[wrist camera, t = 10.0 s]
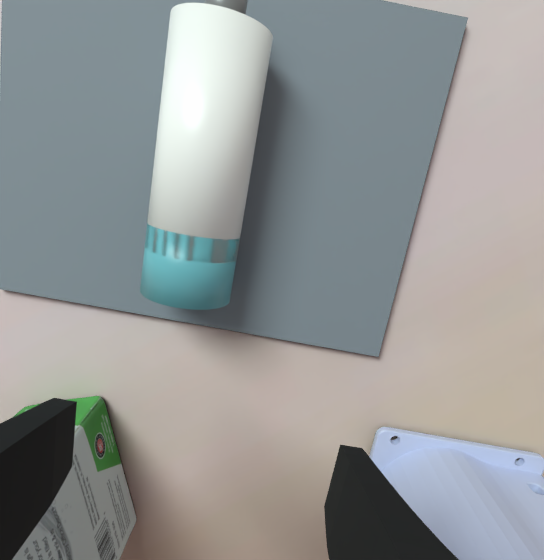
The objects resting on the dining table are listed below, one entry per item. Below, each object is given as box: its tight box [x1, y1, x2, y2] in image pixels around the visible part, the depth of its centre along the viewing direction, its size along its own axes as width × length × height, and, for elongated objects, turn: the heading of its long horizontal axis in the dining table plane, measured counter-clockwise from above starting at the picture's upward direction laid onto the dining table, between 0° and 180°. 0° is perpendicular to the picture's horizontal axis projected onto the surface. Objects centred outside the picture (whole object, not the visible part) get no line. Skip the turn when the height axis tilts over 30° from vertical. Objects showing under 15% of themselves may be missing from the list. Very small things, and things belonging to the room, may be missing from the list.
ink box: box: [12, 396, 136, 560], centre depth 17 cm, size 9×5×12 cm, turn 8°
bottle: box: [140, 0, 273, 310], centre depth 17 cm, size 4×12×4 cm, turn 170°
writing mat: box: [0, 0, 468, 357], centre depth 19 cm, size 20×16×1 cm
